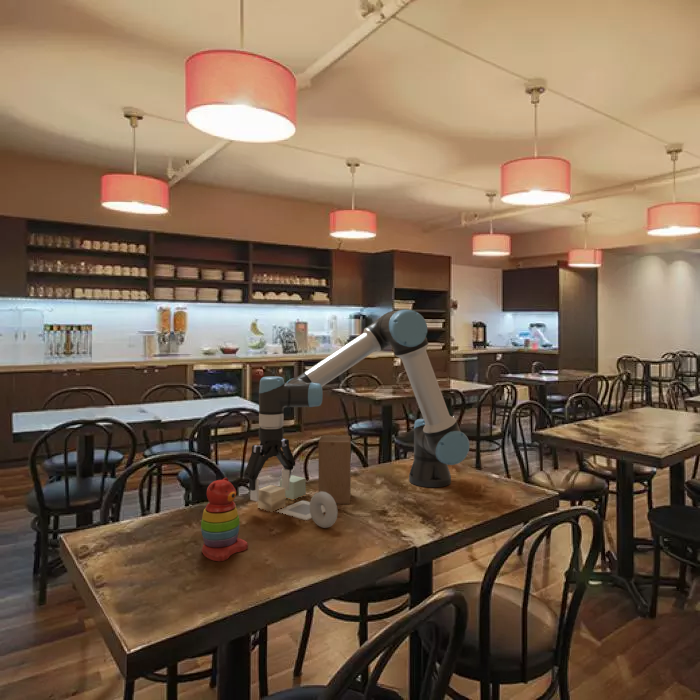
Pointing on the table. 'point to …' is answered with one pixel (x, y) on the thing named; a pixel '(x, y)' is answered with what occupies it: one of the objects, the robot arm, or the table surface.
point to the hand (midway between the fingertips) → (270, 494)
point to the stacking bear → (221, 522)
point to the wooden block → (335, 467)
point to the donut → (329, 506)
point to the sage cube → (295, 487)
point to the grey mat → (299, 510)
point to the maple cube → (271, 498)
